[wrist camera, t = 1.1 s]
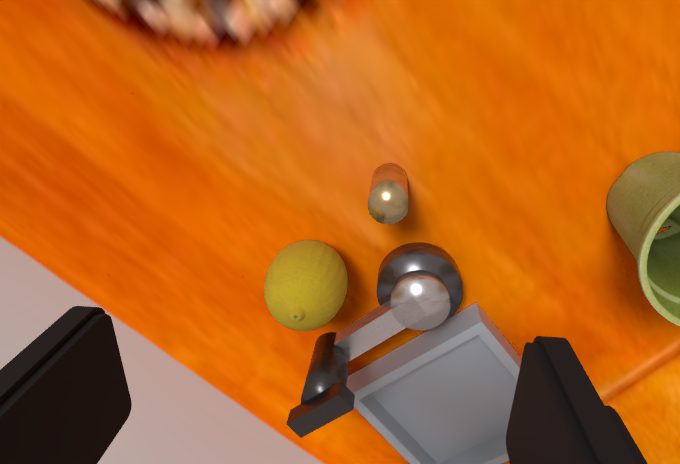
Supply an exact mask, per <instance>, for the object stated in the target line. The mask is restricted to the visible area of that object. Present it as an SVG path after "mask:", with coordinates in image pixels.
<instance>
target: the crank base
mask: <svg viewBox="0 0 680 464" xmlns="http://www.w3.org/2000/svg"><path fill="white" fill-rule="evenodd" d="M408 208H409V200H408V183H407V175H406V172H405V171H404V169H403V168H402V167H400V166H399V165H397V164H393V163H387V164H383V165H381V166H379V167H378V168H377V169H376V170H375V172H374V174H373V178H372V183H371V189H370V195H369V200H368V210H369V212H370V214H371V216H372V217H373V218H374V219H375V220H376V221H378V222H380V223H383V224H394V223H397V222H399V221H401V220H402V219H403V218H404V217H405V216H406V214H407V212H408ZM413 270H426V271H430V272H432V273H435V274H436V275H438V276H439V277H440V278H441V279H442V280H443V281H444V282H445V284H446V286H447V288H448V293H449V298H450V311H449V314H448V316H447V318H446V319H445V320H447V319H448V318H450V317H451V316H452V315H453V314H454V313H455V311H456V310H457V308H458V307H459V305H460V302H461V299H462V283H461V279H460V275H459V271H458V268H457V265H456V263H455V261H454V260H453V258H452V257H451V256H450V255H449V254H448V253H447V252H446V251H444V250H443V249H441V248H439V247H437V246H435V245H432V244H428V243H410V244H406V245H402V246H400V247H398V248H396V249H394V250H393V251H392V252H390V253H389V254H388V255H387V256H386V257H385V259H384V260H383V262H382V264H381V266H380V268H379V273H378V283H377V297H378V301H379V304H380V305H382V304H384V303H385V302H387V301H388V300H390V299H391V289H392V286H393V284H394V282H395V281H396V280H397V279H398V278H399V277H400V276H401V275H403V274H405V273H407V272H409V271H413ZM445 320H444V321H445ZM444 321H443V322H444Z"/></svg>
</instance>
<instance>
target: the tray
mask: <svg viewBox="0 0 680 464" xmlns="http://www.w3.org/2000/svg"><path fill="white" fill-rule="evenodd" d="M521 361H522V358H521V357H520V356H519V355H518V353H517V352H516V351H515V350H514V348H513V347H512V346H511V345H510V343H509V342H508V341H507V340H506V339H505V337H504V336H503V335H502V334H501V332H500V331H499V330H498V329H497V327H496V326H495V325H494V324H493V323H492V321H491V320H490V319H489V318H488V316H487V315H486V314H485V313H484V311H483V310H482V309H481V308H480V307H479V305H478V304H477V303H474V304H473V305H471V306H469V307H467V308H466V309H464V310H462V311H460V312H459V313H457V314H455V315H453V316H452V317H450V318H448V319H447V320H445V321H444V322H442V323H441V324H440V325H438V326H436V327H434V328H432V329H429V330H427V331H426V332H424V333H422V334H420V335H419V336H417V337H415V338H414V339H412V340H410V341H408V342H407V343H405V344H403V345H401V346H400V347H398V348H396V349H394V350H393V351H391V352H389V353H388V354H386V355H384V356H382V357H381V358H379V359H377V360H375V361H374V362H372V363H370V364H368V365H367V366H365V367H363V368H361V369H360V370H358V371H356V372H355V373H353V374H351V375H349V376H348V380H347V388H348V389H349V390H350V391H351V392H352V393H353V394H354V395H355V399H354V407H355V408H356V410H357V411H358V412H359V413H360V414H361V415H362V416H363V417H364V418H365V419H366V420H367V421H368V422H369V423H370V424H371V425H372V426H373V427H374V428H375V429H376V430H377V431H378V432H379V433H380V434H381V435H382V436H383V437H384V438H385V439H386V440H387V441H388V442H389V443H390V444H391V445H392V446H393V447H394V448H395V449H396V450H397V451H398V452H399V453H400V454H401V455H402V456H403V457H404V458H405V459H406V460H407V461H408V462H409V463H410V464H502V463H505V462H507V461H509V457H508V454H507V449H506V432H507V427H508V422H509V418H510V413H511V408H512V403H513V399H514V394H515V389H516V384H517V380H518V375H519V370H520V365H521Z"/></svg>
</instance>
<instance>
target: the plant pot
mask: <svg viewBox="0 0 680 464" xmlns="http://www.w3.org/2000/svg"><path fill="white" fill-rule="evenodd" d="M607 212H608V216H609V219H610V221H611V223H612V225H613V226H614V227H615V229H616V231H617V232H618V234H619V235H620V237H621V238H622V240H623V241H624V243H625V244H626V246H627V247H628V249H629V250H630V252H631V253H632V255H633V256H634V258H635V260H636V261H637V269H638V278H639V282H640V285H641V288H642V290H643V293H644V295H645V296H646V298H647V300H648V301H649V302H650V304H651V305H652V306H653V307H654V309H655V310H656V311H657V312H658V313H659V314H660V315H662V316H663V317H664V318H666V319H667V320H669V321H670V322H672V323H674V324H676V325H678V326H680V152H659V153H654V154H651V155H648V156H645V157H643V158H641V159H639V160H637V161H635V162H634V163H632V164H631V165H629V166H628V167H627V169H626V170H625V171H624V172H623V174H622V175H621V176H620V177H619V178H618V179H617V181H616V182H615V183H614V184H613V185H612V186H611V189H610V191H609V194H608V198H607ZM668 226H671V227H670V228H669V229H667V230H665V231H663V232H660V233H657V231H658V230H659V228H663V227H668Z"/></svg>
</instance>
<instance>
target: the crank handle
mask: <svg viewBox="0 0 680 464" xmlns="http://www.w3.org/2000/svg"><path fill="white" fill-rule="evenodd" d="M449 311H450V298H449V293H448V288H447V286H446V284H445V282H444V281H443V280H442V279H441V278H440V277H439V276H438V275H436V274H435V273H432V272H430V271H426V270H413V271H409V272H407V273H405V274H403V275H401V276H400V277H399V278H398V279H397V280H396V281H395V282H394V284H393V286H392V289H391V299H390V300H388V301H387V302H385V303H384V304H382V305H380V306H379V307H377V308H376V309H374V310H372V311H371V312H369V313H368V314H366V315H364V316H363V317H361V318H360V319H358V320H356V321H355V322H353V323H352V324H350V325H348V326H347V327H345V328H344V329H342V330H340V331H339V332H337V333H333V332H330V333H325V334H323V335H321V336H320V337H319V338H318V339H317V341H316V344H315V347H314V351H313V355H312V359H311V363H310V366H309V370H308V374H307V378H306V382H305V385H304V389H303V393H302V397H301V404H300V405H298V406H297V407H295V408H293V409H291V410H290V413H289V417H288V421H287V425H288V426H289V427H290V428H291V429H292V430H293V431H294V432H295V433H296V434H297V435H298V436H299V437H300V438H301V437H303V436H305V435H307V434H309V433H311V432H313V431H314V430H316V429H318V428H320V427H322V426H324V425H326V424H327V423H329V422H331V421H333V420H335V419H337V418H338V417H340V416H342V415H344V414H346V413H348V412H350V411H351V410H353V408H354V399H355V395H354V394H353V393H352V392H351V391H350V390H349V389H348V388H347V387H346V385H347V378H348V371H349V364H350V361H351V360H353V359H354V358H356V357H358V356H359V355H361V354H363V353H364V352H366V351H368V350H370V349H371V348H373V347H375V346H376V345H378V344H380V343H381V342H383V341H385V340H386V339H388V338H390V337H392V336H393V335H395V334H397V333H398V332H400V331H402V330H403V329H405V328H410V329H413V330H428V329H432V328H434V327H436V326H438V325H440V324H441V323H442V322H443V321H444V320H445V319H446V318H447V316H448V314H449Z"/></svg>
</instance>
